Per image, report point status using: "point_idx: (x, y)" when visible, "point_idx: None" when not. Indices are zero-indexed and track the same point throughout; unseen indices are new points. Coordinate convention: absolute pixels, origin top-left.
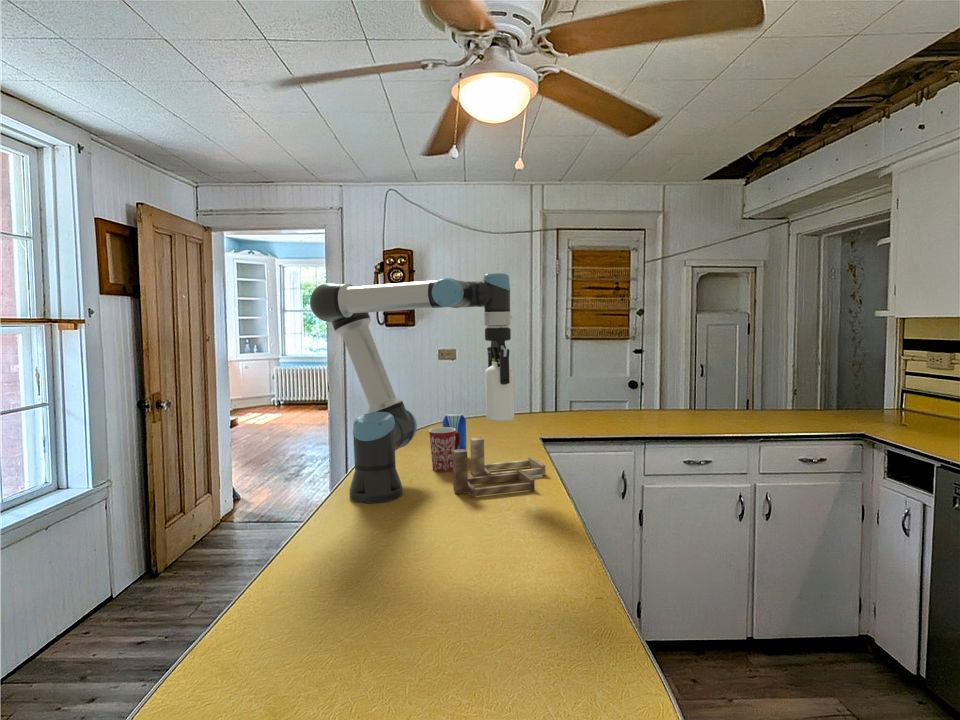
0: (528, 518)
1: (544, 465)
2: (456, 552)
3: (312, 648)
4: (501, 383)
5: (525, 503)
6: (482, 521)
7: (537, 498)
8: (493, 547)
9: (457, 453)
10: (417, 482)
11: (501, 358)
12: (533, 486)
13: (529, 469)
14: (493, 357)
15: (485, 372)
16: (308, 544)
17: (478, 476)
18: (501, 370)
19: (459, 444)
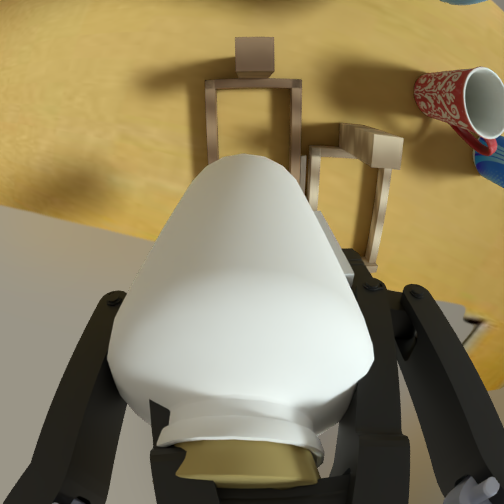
0: (83, 161)
1: None
2: (13, 57)
3: None
4: (108, 294)
5: (149, 174)
6: (85, 87)
7: (170, 202)
8: (13, 100)
9: (235, 44)
10: (358, 12)
11: (35, 459)
12: None
13: None
14: (346, 487)
15: (260, 268)
16: None
17: (340, 133)
18: (70, 367)
19: (490, 162)
